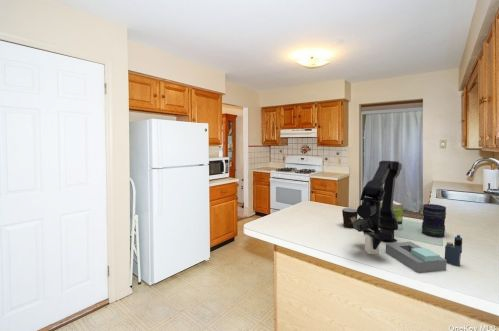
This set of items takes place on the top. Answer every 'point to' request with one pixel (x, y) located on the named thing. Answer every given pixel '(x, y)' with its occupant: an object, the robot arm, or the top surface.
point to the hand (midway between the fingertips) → (371, 247)
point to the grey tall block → (370, 244)
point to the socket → (413, 257)
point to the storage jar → (434, 220)
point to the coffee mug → (349, 217)
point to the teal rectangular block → (425, 254)
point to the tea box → (397, 212)
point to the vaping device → (454, 251)
